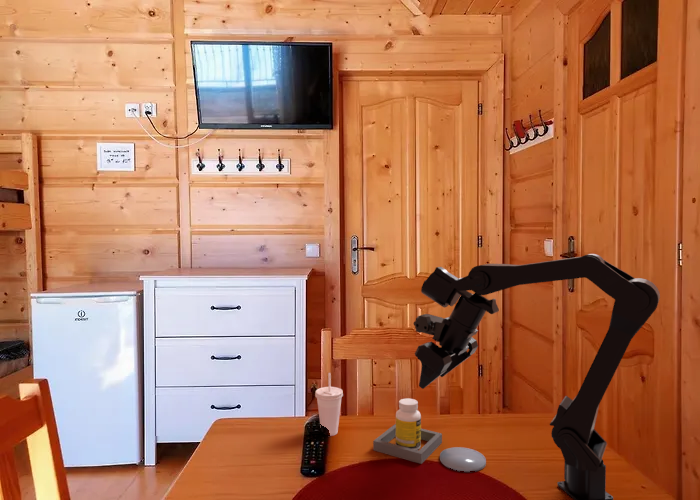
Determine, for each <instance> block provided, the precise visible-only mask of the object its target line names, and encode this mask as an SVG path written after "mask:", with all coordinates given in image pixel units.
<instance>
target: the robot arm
mask: <svg viewBox="0 0 700 500" xmlns="http://www.w3.org/2000/svg"><path fill="white" fill-rule="evenodd" d="M583 278H584V279H585V278H586V279H587V280H588V281H590V282H591V283H593V284H594V285H595V286H597V287H598V288H599V289H600V290H601V291H603V292H604V294H606V295H608V296H609V297H610V298H612V299H614V303H613V307H612V311H611V315H610V321H609V326H608V330H607V332H606V334H605V336H604V338H603V340H602V342H601V343H600V346H599V347H598V350H597V353H596V355H595V357H594V359H593V361H592V363H591V365H590V367H589V369H588V371H587V374H586V375H585V377H584V380H583V382H582V383H581V386H580V387H579V390H578V392H577V394H576V396H575V397H574V398H573V399H572V398H570V397H569V396H568V395H565V396H564V397H563V399H562V400H561V402H560V403H559V405H558V407H557V411H556V414H555V416H554V417H553V419H552V420H551V422H550V423H549V426H550V427H551V426H552V429H551V438H552V439H553V443H554V444H555V445H556V447H558V449H560V451H561V454H562V457H563V460H564V469H563V470H564V477H563V478H564V480H563V481H557V482H556V483H557V485H556V486H557V487H559V488H560V489H562V491H564V493H566V494H567V495H568V496H570V497H571V498H572V499H573V500H614V496H613V495H611V494H610V493H608V491H606V485H607V484H606V483H607V482H606V474H607V473H606V472H607V470H606V468H607V467H606V465H605V464H604V460H603V457H604V454H605V451H606V448H607V446H608V443H607V441H606V440H605V439H604V438H603V436H601V435H600V434H599V433H598V431H597V430H596V429H595V426H596V422H597V417H598V413H599V407H600V404H601V402H602V399H603V398H604V396H605V393H607V389H608V388H609V385H610V384H611V381H612V380H613V377H614V376H615V373H616V372H617V369H618V367H619V365H620V363H621V362H622V359H623V358H624V356H625V353H626V351H627V350H628V347H629V346H630V343H631V341H632V339H633V338H634V337H635V335H636V334H637V333H638V332H639V330H641V329H642V327H644V325H645V324H646V322H647V321H648V320H649V319H650V317H651V316H652V315H653V314H654V312H655V311H656V309H657V308H658V305H659V303H660V302H659V301H660V298H661V295H660V290H659V288H658V287H657V286H656V284H655V283H654V282H652V281H650V280H648V279H645V278H641V277H640V278H639V277H637V278H635V277H634V276H632V275H631V274H629V273H628V272H626V271H624V270H622V269H621V268H618V267H617V266H615V265H613V264H612V263H610V262H609V261H606V259H604V258H603V257H602V256H601V255H599V254H596V253H588V254H585V255H582V256H576V257H570V258H568V257H567V258H562V259H556V260H555V259H554V260H547V261H541V262H540V261H539V262H531V263H525V264H509V263H485V264H479V265H475V266H473V267H472V268H471V269H470V271H469V272H468V275H466V276H464V277H460V278H459V277H457V276H455V275H454V274H453V273H451V272H449V271H448V270H447V269H446V268H444V267H443V266H437V267H435V268H434V271H433V272H432V273H431V274H429V276H428V277H427V278H426V279H425V280H424V281H423V283H422V286H421V289H420V293H421V294H422V295H424V296H426V297H427V298H428V299H431V300H432V301H433V302H435V304H437V305H439V306H441V307H442V308H447V307H448V306H450V307H453V306H454V308H453V309H452V311H451V313H450V315H449V316H448V317H441V316H438V315H433V314H429V313H423V314H421V315H418V316H416V318H415V321H414V322H413V325H414V328H415V331H416V332H417V333H419V334H420V333H423V334H427V335H429V336H432V340H434V342H433V341H428V342H425V343H422V344H420V345H418V346H417V348H416V350H415V352H414V356H415V357H416V358H417V359H418V360H419V361H420V363H421V370H420V377H419V380H418V381H419V383H418V386H419V388H420V389H422V390H423V389H425V388H426V387H428V386H429V385H430V384H432V383H433V382H434V381H435V380H436V379H438V378H439V377H440V378H443V377H445V376H446V375H448V374H449V373H450V372H452V371H453V370H454V369H455V368H457V367H458V366H459V365H461V364H462V363H463V362H465V361H467V359H469V358H470V357H471V356H472V355H473V354H475V352H476V351H477V349H478V347H479V344H478V341H477V339H475V338H474V336H475V335H477V333H478V332H479V330H478V327H479V325H480V323H481V322H482V319H483V318H484V316H485V314H486V313H488V314H490V315H494V314H496V313H499V310H500V309H499V307H498V304H497V299H496V298H492V299H489V298H486V297H485V296H487V295H490V294H493V293H496V292H500V291H503V290H507V289H510V288H514V287H517V286H522V285H528V284H529V285H530V284H537V283H538V284H539V283H548V282H549V283H550V282H557V281H566V280H575V279H583ZM470 291H471V292H470ZM472 292H473V293H472ZM435 342H436V343H439V345H437V344H436V343H435Z"/></svg>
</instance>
